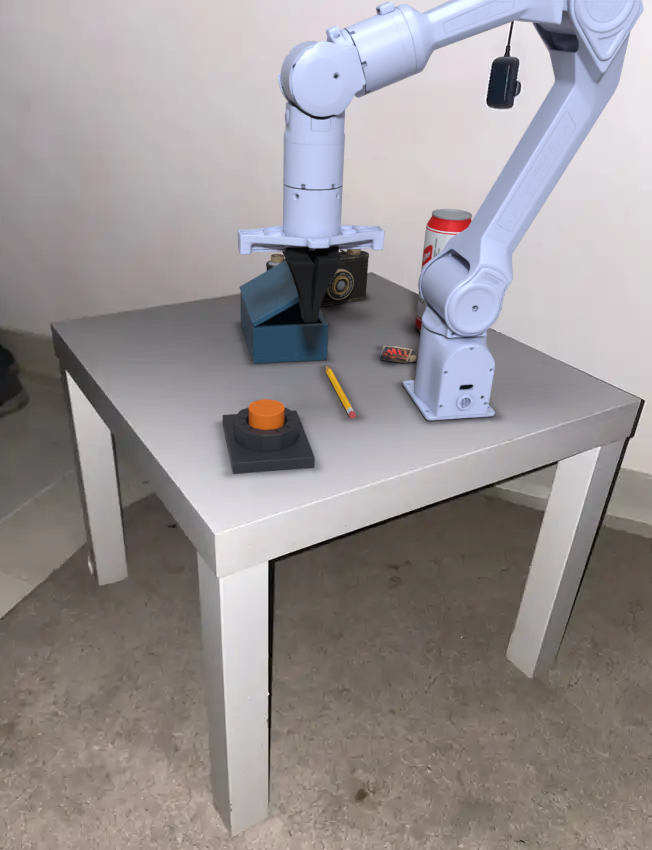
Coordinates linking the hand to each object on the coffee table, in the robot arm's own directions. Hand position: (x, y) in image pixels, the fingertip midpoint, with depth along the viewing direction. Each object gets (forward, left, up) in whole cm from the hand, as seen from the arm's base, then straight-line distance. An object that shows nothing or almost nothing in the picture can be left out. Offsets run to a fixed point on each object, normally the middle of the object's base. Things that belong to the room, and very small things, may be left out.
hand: (309, 318), depth 81 cm
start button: (-8, +6, -8) cm, 12 cm away
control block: (-8, +6, -10) cm, 14 cm away
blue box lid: (+19, 0, -3) cm, 19 cm away
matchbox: (+12, -14, -10) cm, 21 cm away
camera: (+32, -8, -11) cm, 35 cm away
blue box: (+19, 0, -10) cm, 22 cm away
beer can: (+20, -22, -11) cm, 32 cm away
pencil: (+3, -4, -11) cm, 12 cm away
